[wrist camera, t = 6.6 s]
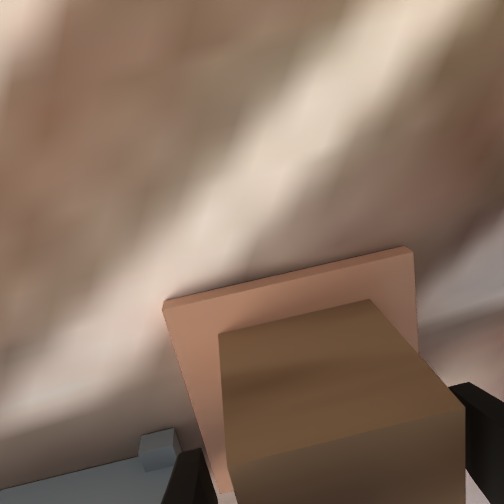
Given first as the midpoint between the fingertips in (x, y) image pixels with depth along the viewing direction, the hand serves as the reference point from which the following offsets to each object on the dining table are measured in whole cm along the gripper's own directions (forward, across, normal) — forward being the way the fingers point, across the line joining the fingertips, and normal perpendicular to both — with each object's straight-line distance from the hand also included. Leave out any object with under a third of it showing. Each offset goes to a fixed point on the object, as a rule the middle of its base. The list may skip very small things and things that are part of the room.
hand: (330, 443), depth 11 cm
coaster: (+3, 0, 0) cm, 3 cm away
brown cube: (+3, 0, 0) cm, 3 cm away
